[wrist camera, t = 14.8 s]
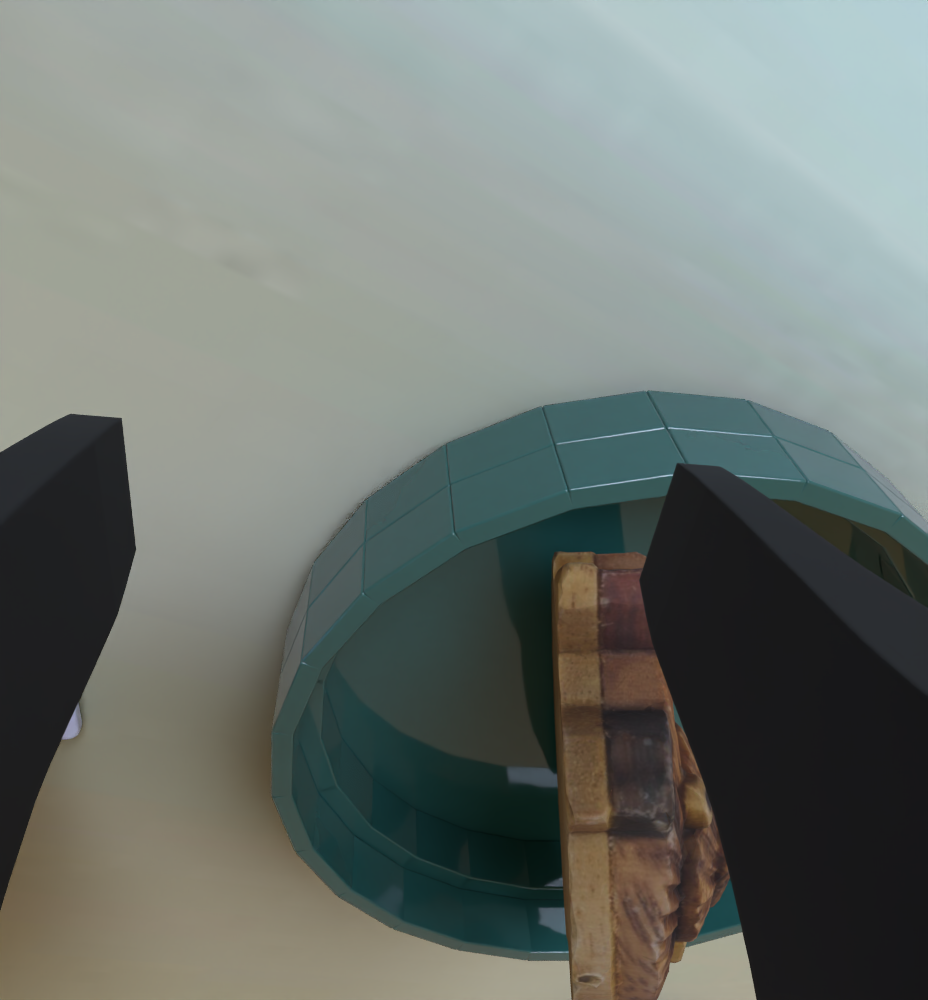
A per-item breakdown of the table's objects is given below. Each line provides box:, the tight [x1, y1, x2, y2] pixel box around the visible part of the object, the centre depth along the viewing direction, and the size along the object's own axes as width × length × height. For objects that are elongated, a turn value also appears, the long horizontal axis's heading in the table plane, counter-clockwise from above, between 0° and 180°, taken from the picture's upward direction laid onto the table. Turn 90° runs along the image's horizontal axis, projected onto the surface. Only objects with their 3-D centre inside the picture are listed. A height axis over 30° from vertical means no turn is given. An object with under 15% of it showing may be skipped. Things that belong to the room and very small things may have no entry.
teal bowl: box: [271, 391, 928, 961], centre depth 26 cm, size 21×21×4 cm
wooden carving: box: [551, 551, 730, 1000], centre depth 23 cm, size 16×5×10 cm, turn 10°
